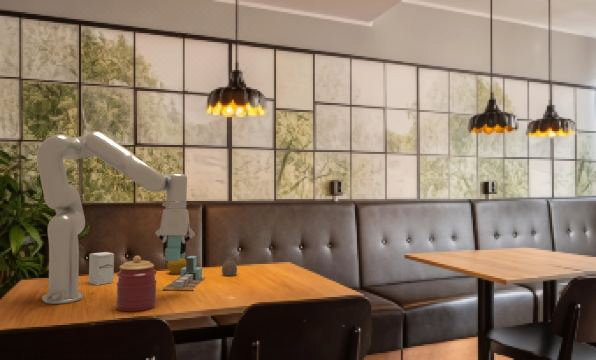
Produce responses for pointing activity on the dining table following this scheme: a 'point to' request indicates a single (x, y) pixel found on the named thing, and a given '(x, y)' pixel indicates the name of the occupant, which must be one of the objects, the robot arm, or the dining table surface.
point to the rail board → (189, 286)
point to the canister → (136, 285)
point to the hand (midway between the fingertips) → (174, 252)
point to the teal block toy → (173, 248)
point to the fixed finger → (192, 267)
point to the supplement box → (101, 268)
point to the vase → (229, 268)
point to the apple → (176, 266)
